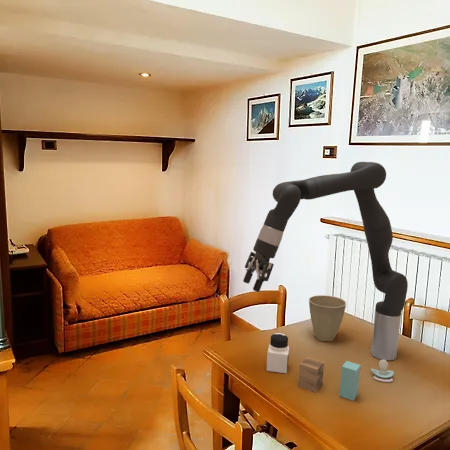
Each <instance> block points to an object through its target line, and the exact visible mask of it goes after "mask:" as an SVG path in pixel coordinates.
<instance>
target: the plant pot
mask: <svg viewBox="0 0 450 450" xmlns="http://www.w3.org/2000/svg"><path fill="white" fill-rule="evenodd" d="M308 304H309V314H310V319H311V323H312V324H311V325H312V328H313V332H314V336H315V337H316V339H317V340H319V341H323V342H331V341H334V339H335V338H336V335H337V334H338V332H339V330H340V327H341V324H342V321H343V317H344V316H345V315H344V314H345V311H346V307H347V301H346V300H344V299H343V298H340V297H337V296H333V295H327V294H326V295H323V294H322V295H321V294H319V295H313V296H310V297H308Z"/></svg>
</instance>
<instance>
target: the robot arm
mask: <svg viewBox="0 0 450 450" xmlns="http://www.w3.org/2000/svg"><path fill="white" fill-rule="evenodd" d="M386 179H387V171H386V168H385V167H384V166H383V165H382V164H380V163H379V162H374V161H359V162H356V163H354V164H353V165H352V166H351V168H350V171H349V172H342V173H332V174H330V173H329V174H322V175H317V176H313V177H309V178H305V179H299V180H298V179H297V180H291V181H283V182H281V183H280V182H279V183H278V184H276V186H275V187H274V188H273V189H272V197H273V199H274V201H275V202H277V204H276V205H275V207H274V208H273V209H270V210H269V211H268V212H267V215H266V217H265V220H264V223H263V225H262V226H261V228H260V230H259V234H258V236H257V238H256V241H255V243H254V246H253V251H254V252H253V251H251V252H250V253H249V256H248V258H247V261H246V263H245V265H244V268H245V271H246V272H245V274H244V277H243V280H242V281H243V283H245V284H250V282H251V280H252V278H253V274H254V272H255V273H256V280H255V282H254V284H253V287H252V291H254V292H257V293H259V292H260V290H261V288H262V287H263V283H264V282H269V280H270V279H269V278H270V276H271V274H272V271H273V268H274V263H273V262H271V261H270V259H274V258H275V257H276V255H277V252H278V250H279V247H280V245H281V242H282V239H283V235H284V232H285V230H286V227H287V226H288V225H287V224H288V221H289V220H290V219H291V217H292V215H293V214H294V212H295V211H296V210H297V208H298V206H299V205H300V202H301V200H307V201H310V200H314V199H315V200H316V199H318V198H323V197H328V196H330V195H331V196H332V195H336V194H339V193H344V192H345V193H346V192H350V191H353V192H354V195H355V198H356V201H357V203H358V210H359V213H360V216H361V221H362V224H363V232H364V234H365V235H364V236H365V238H366V242H367V247H368V252H369V257H370V261H371V262H370V263H371V271H372V280H373V285H374V287H375V288H376V290H378V291H379V292H380V293H383V294H384V299H383V300H382V301H378V302H376V304H375V309H374V319H373V328H372V340H371V347H370V354H371V355H372V356H373V357H374V358H376V359H379V360H386V361H395V360H396V359H397V355H398V354H397V353H398V346H399V337H400V330H401V328H400V327H401V320H402V312H403V309H404V307H405V305H406V298H407V295H408V294H407V293H408V286H409V285H408V284H409V283H408V279H407V277H406V275H404V274H403V273H400V272H398V271H395V270H393V269H392V266H391V262H390V258H389V257H390V256H389V253H390V249H391V247H392V243H393V240H394V239H393V238H394V237H393V236H394V234H393V229H392V225H391V219H390V218H389V216H388V214H387V212H386V211H385V209H384V208H383V206H382V205H381V204H380V202H379V200H378V198H377V195H376V192H375V190H376V189H378V188H380V187H382V186H383V184H384V183H385V181H386Z"/></svg>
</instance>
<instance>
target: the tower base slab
mask: <svg viewBox="0 0 450 450" xmlns="http://www.w3.org/2000/svg"><path fill="white" fill-rule="evenodd" d="M323 381H324V374H323V375H322V376H321V377H320V378H319V379H318V380H317V381H314V380H311V379H308V378H305V377H302V376H300V375H299V374H298V381H297V383H298V384H297V386H298V388H302V389H304V390H307V391H310V392H312V393H317V391H318V390H319V389H320V388H321V387H322V386H323V384H324V383H323Z"/></svg>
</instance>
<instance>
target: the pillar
mask: <svg viewBox="0 0 450 450" xmlns="http://www.w3.org/2000/svg"><path fill="white" fill-rule="evenodd" d="M360 375H361V364H358V363H354V362H351V361H349V360H346V361H345V362H344V363H343V365H341V373H340V381H339V383H340V385H339V392H338V393H339V395H338V396H339V397H341V398H344V399H347V400H350V401H353V402H354V401H355V399H356V398H357V396H358V395H359V385H360V384H359V383H360Z"/></svg>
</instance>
